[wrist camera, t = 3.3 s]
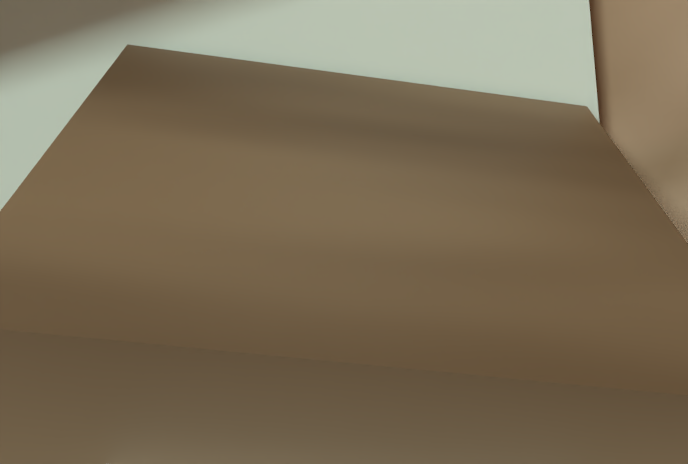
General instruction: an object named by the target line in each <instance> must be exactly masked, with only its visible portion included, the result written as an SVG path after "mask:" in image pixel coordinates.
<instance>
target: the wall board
mask: <svg viewBox="0 0 688 464" xmlns="http://www.w3.org/2000/svg"><path fill="white" fill-rule="evenodd" d="M127 44H128V45H136V46H143V47H151V48H158V49H165V50H173V51H180V52H188V53H195V54H203V55H210V56H218V57H225V58H232V59H240V60H247V61H255V62H262V63H270V64H277V65H284V66H292V67H299V68H307V69H314V70H322V71H329V72H336V73H344V74H351V75H359V76H366V77H374V78H381V79H388V80H396V81H403V82H411V83H418V84H426V85H433V86H440V87H448V88H455V89H463V90H470V91H478V92H485V93H492V94H500V95H507V96H515V97H522V98H530V99H537V100H544V101H552V102H559V103H567V104H574V105H582V106H587V107H588V108H589V110H590V111H591V113H592V114H593V115H594V117H595V118H596V119H597V121H598V122H599V111H598V99H597V88H596V76H595V64H594V53H593V41H592V30H591V18H590V6H589V0H0V211H1V209H2V208H3V207H4V205H5V204H6V203H7V202H8V200H9V199H10V198H11V196H12V195H13V194H14V192H15V191H16V190H17V188H18V187H19V186H20V185H21V183H22V182H23V181H24V179H25V178H26V177H27V175H28V174H29V173H30V171H31V170H32V169H33V167H34V166H35V165H36V164H37V162H38V161H39V160H40V158H41V157H42V156H43V154H44V153H45V152H46V150H47V149H48V148H49V147H50V145H51V144H52V143H53V141H54V140H55V139H56V137H57V136H58V135H59V133H60V132H61V131H62V129H63V128H64V127H65V126H66V124H67V123H68V122H69V120H70V119H71V118H72V116H73V115H74V114H75V112H76V111H77V110H78V109H79V107H80V106H81V105H82V103H83V102H84V101H85V99H86V98H87V97H88V95H89V94H90V93H91V91H92V90H93V89H94V88H95V86H96V85H97V84H98V82H99V81H100V80H101V78H102V77H103V76H104V74H105V73H106V72H107V70H108V69H109V68H110V67H111V65H112V64H113V63H114V61H115V60H116V59H117V57H118V56H119V55H120V53H121V52H122V51H123V50H124V48H125V47H126V46H127ZM599 124H600V122H599Z"/></svg>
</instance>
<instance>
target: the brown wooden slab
mask: <svg viewBox="0 0 688 464" xmlns="http://www.w3.org/2000/svg"><path fill="white" fill-rule="evenodd" d="M0 464H688V244H687V242H686V241H685V240H684V238H683V237H682V236H681V234H680V233H679V231H678V230H677V229H676V227H675V226H674V225H673V223H672V222H671V221H670V219H669V218H668V216H667V215H666V214H665V212H664V211H663V210H662V208H661V207H660V206H659V204H658V203H657V201H656V200H655V199H654V197H653V196H652V195H651V193H650V192H649V190H648V189H647V188H646V186H645V185H644V184H643V182H642V181H641V180H640V178H639V177H638V175H637V174H636V173H635V171H634V170H633V169H632V167H631V166H630V165H629V163H628V162H627V160H626V159H625V158H624V156H623V155H622V154H621V152H620V151H619V149H618V148H617V147H616V145H615V144H614V143H613V141H612V140H611V139H610V137H609V136H608V134H607V133H606V132H605V130H604V129H603V128H602V126H601V125H600V124H599V122H598V121H597V119H596V118H595V117H594V115H593V114H592V113H591V111H590V110H589V108H588V107H587V106H582V105H574V104H567V103H559V102H552V101H544V100H537V99H530V98H522V97H515V96H507V95H500V94H492V93H485V92H478V91H470V90H463V89H455V88H448V87H440V86H433V85H426V84H418V83H411V82H403V81H396V80H388V79H381V78H374V77H366V76H359V75H351V74H344V73H336V72H329V71H322V70H314V69H307V68H299V67H292V66H284V65H277V64H270V63H262V62H255V61H247V60H240V59H232V58H225V57H218V56H210V55H203V54H195V53H188V52H180V51H173V50H165V49H158V48H151V47H143V46H136V45H128V44H127V46H126V47H125V48H124V50H123V51H122V52H121V53H120V55H119V56H118V57H117V59H116V60H115V61H114V63H113V64H112V65H111V67H110V68H109V69H108V70H107V72H106V73H105V74H104V76H103V77H102V78H101V80H100V81H99V82H98V84H97V85H96V86H95V88H94V89H93V90H92V91H91V93H90V94H89V95H88V97H87V98H86V99H85V101H84V102H83V103H82V105H81V106H80V107H79V109H78V110H77V111H76V112H75V114H74V115H73V116H72V118H71V119H70V120H69V122H68V123H67V124H66V126H65V127H64V128H63V129H62V131H61V132H60V133H59V135H58V136H57V137H56V139H55V140H54V141H53V143H52V144H51V145H50V147H49V148H48V149H47V150H46V152H45V153H44V154H43V156H42V157H41V158H40V160H39V161H38V162H37V164H36V165H35V166H34V167H33V169H32V170H31V171H30V173H29V174H28V175H27V177H26V178H25V179H24V181H23V182H22V183H21V185H20V186H19V187H18V188H17V190H16V191H15V192H14V194H13V195H12V196H11V198H10V199H9V200H8V202H7V203H6V204H5V205H4V207H3V208H2V209H1V211H0Z"/></svg>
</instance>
